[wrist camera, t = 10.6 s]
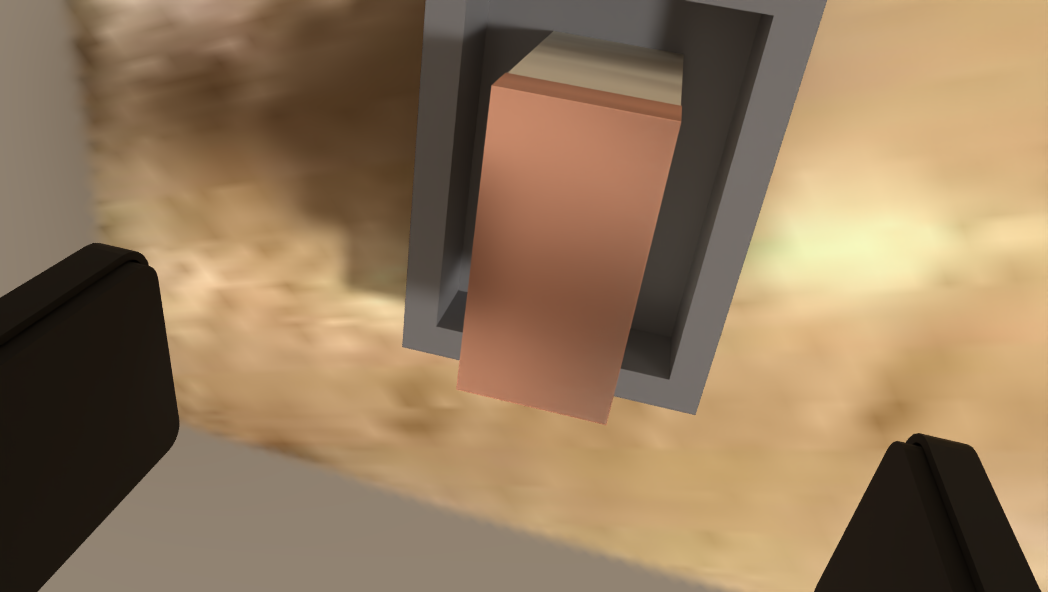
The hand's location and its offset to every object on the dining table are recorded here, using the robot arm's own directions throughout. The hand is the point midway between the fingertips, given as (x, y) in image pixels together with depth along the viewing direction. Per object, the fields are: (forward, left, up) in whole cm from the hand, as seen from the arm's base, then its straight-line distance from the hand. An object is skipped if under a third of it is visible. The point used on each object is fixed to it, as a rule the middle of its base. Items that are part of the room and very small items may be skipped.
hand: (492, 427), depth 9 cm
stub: (+1, 0, -13) cm, 13 cm away
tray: (+1, 0, -14) cm, 14 cm away
